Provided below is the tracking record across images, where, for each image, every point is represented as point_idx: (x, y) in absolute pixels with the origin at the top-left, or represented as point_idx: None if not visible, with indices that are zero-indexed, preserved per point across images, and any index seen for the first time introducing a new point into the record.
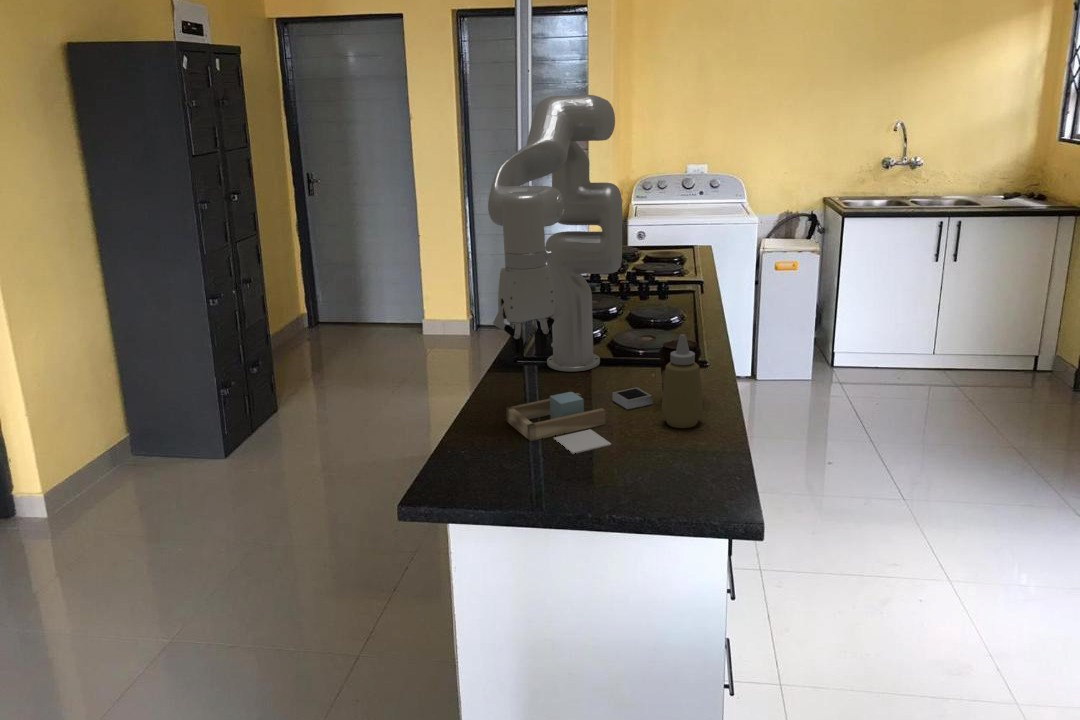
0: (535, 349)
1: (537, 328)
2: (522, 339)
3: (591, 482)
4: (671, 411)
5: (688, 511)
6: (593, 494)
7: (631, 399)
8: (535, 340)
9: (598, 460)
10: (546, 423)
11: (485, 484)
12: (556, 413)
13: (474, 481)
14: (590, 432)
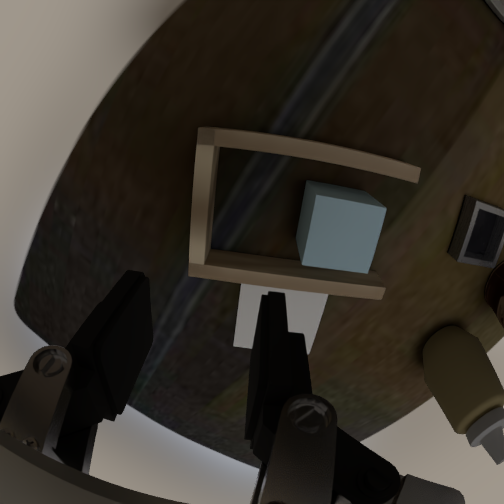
0: (262, 298)
1: (270, 429)
2: (117, 413)
3: (206, 403)
4: (425, 376)
5: (252, 459)
6: (193, 416)
7: (466, 260)
8: (258, 344)
9: None
10: (232, 280)
11: None
12: (303, 222)
13: (72, 319)
14: (317, 303)
